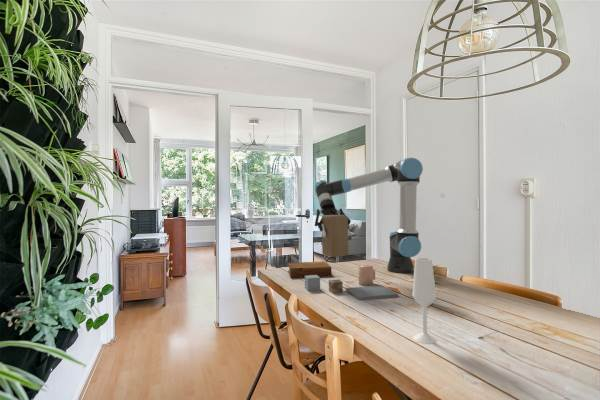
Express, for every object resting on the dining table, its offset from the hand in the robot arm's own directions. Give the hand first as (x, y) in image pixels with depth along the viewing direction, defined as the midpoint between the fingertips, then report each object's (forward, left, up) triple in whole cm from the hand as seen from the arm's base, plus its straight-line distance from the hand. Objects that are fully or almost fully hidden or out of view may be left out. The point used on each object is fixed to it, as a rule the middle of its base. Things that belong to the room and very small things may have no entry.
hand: (336, 235), depth 168 cm
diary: (+6, -33, -26) cm, 42 cm away
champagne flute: (-4, +68, -25) cm, 73 cm away
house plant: (-26, +37, -25) cm, 52 cm away
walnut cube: (+4, +9, -25) cm, 27 cm away
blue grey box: (+13, +1, -25) cm, 28 cm away
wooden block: (0, -3, -10) cm, 11 cm away
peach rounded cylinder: (-15, 0, -25) cm, 29 cm away
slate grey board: (-10, +17, -25) cm, 32 cm away
